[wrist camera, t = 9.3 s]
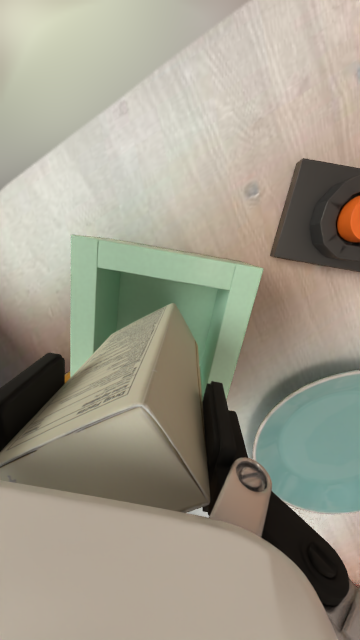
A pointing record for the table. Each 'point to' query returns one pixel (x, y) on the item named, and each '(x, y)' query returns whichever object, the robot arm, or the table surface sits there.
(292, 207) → the block
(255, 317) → the table surface
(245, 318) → the mint green storage bin
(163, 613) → the robot arm
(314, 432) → the plate
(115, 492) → the cosmetic box
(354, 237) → the button
